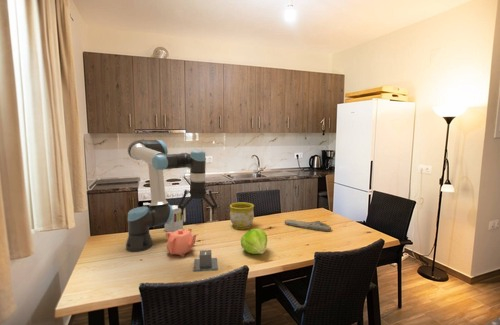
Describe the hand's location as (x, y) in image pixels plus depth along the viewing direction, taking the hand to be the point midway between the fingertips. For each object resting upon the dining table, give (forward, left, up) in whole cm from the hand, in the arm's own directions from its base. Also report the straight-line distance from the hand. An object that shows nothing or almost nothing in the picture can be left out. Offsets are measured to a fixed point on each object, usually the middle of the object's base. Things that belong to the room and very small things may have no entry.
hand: (197, 220), depth 141 cm
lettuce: (-7, +32, -23) cm, 40 cm away
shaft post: (+4, +4, -23) cm, 23 cm away
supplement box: (-53, -19, -23) cm, 61 cm away
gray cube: (+4, +4, -22) cm, 23 cm away
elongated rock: (-45, +78, -23) cm, 93 cm away
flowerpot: (-53, +30, -23) cm, 65 cm away
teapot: (-14, -9, -23) cm, 28 cm away
